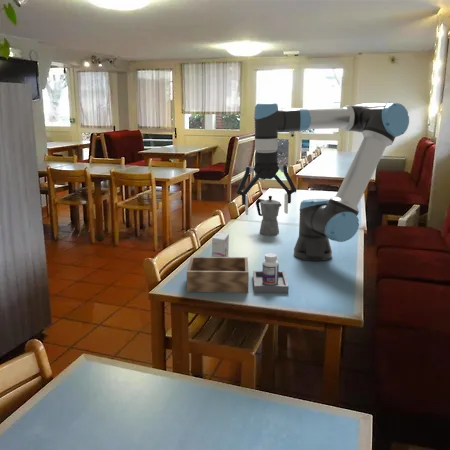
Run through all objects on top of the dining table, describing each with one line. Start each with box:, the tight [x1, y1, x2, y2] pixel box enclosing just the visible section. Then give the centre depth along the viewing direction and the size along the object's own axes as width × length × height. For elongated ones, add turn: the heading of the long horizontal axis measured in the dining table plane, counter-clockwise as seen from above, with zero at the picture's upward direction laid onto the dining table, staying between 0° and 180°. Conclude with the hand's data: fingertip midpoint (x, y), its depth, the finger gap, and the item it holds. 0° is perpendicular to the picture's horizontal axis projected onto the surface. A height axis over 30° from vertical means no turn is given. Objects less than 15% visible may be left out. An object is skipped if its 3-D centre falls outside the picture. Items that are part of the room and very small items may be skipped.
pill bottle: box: [262, 252, 280, 285], centre depth 154 cm, size 5×5×10 cm
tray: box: [252, 270, 290, 294], centre depth 156 cm, size 11×14×2 cm
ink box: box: [211, 232, 230, 257], centre depth 173 cm, size 9×5×12 cm, turn 168°
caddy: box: [186, 256, 250, 294], centre depth 156 cm, size 20×15×7 cm
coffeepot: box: [255, 195, 282, 236], centre depth 217 cm, size 15×9×18 cm, turn 44°
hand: (266, 213), depth 158 cm, fingers open, 13 cm apart
